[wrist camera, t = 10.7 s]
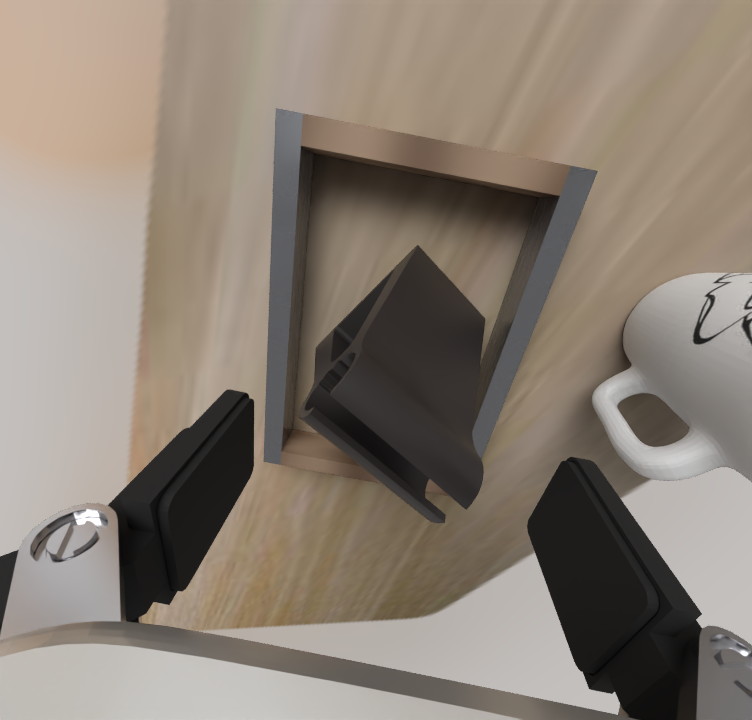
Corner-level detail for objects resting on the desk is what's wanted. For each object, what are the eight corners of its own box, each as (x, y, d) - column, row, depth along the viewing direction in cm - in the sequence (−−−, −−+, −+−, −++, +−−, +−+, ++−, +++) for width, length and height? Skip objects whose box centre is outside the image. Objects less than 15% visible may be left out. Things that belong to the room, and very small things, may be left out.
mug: (595, 432, 23) (719, 578, 14) (529, 348, 21) (628, 456, 12) (782, 333, 19) (1116, 443, 10) (727, 216, 17) (1095, 227, 8)
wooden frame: (571, 176, 17) (597, 171, 15) (459, 473, 25) (464, 499, 23) (292, 121, 17) (276, 108, 14) (276, 438, 25) (263, 461, 23)
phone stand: (380, 401, 23) (361, 571, 12) (316, 345, 22) (232, 481, 11) (484, 317, 20) (579, 444, 9) (418, 244, 19) (440, 294, 8)
